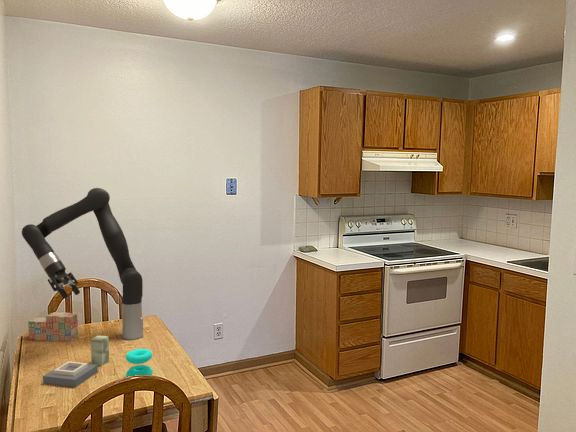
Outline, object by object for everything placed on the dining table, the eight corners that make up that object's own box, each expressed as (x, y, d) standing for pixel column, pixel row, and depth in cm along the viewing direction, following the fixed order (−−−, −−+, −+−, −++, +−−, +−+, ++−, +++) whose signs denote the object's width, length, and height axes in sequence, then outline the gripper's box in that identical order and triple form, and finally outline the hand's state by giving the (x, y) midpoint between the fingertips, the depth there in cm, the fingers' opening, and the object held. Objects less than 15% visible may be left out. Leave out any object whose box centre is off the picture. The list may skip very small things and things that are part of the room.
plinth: (67, 368, 195) (66, 358, 195) (97, 372, 193) (97, 361, 192) (43, 383, 182) (42, 372, 181) (75, 387, 179) (75, 375, 178)
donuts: (141, 358, 182) (120, 355, 185) (142, 383, 183) (120, 379, 186) (157, 349, 191) (136, 346, 194) (157, 373, 192) (137, 369, 195)
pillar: (98, 360, 205) (97, 335, 203) (109, 361, 204) (108, 336, 202) (91, 364, 200) (90, 339, 199) (102, 366, 199) (101, 340, 198)
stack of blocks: (28, 340, 228) (27, 315, 227) (36, 335, 234) (35, 311, 233) (71, 342, 226) (70, 316, 225) (78, 337, 232) (77, 312, 231)
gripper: (47, 261, 200) (68, 294, 198) (68, 258, 214) (88, 288, 213) (34, 271, 201) (55, 303, 200) (56, 267, 215) (75, 297, 214)
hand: (72, 295), depth 206 cm, fingers open, 8 cm apart
